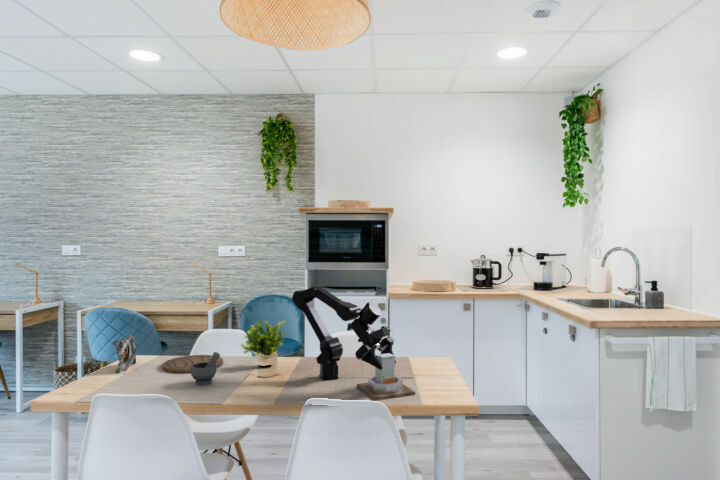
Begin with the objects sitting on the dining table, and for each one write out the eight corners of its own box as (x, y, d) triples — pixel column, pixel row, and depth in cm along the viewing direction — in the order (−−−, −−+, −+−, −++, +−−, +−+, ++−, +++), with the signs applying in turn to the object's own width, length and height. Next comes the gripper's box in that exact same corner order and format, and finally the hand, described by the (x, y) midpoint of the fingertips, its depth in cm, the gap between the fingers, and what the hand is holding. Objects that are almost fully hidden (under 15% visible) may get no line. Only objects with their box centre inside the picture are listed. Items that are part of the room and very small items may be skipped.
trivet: (215, 356, 217) (215, 352, 217) (229, 369, 195) (229, 364, 195) (158, 363, 204) (158, 359, 204) (167, 377, 182) (167, 372, 182)
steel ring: (377, 394, 159) (377, 386, 159) (364, 385, 170) (364, 377, 170) (407, 390, 164) (407, 382, 164) (392, 381, 174) (392, 373, 174)
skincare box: (381, 390, 163) (381, 357, 163) (374, 387, 167) (375, 354, 167) (395, 387, 166) (395, 355, 167) (388, 384, 170) (388, 352, 170)
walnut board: (374, 400, 156) (374, 397, 156) (356, 386, 171) (356, 384, 171) (415, 394, 162) (415, 391, 162) (394, 381, 177) (394, 379, 177)
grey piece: (126, 364, 201) (126, 334, 201) (136, 364, 201) (136, 334, 201) (111, 374, 186) (112, 342, 186) (122, 373, 186) (123, 341, 187)
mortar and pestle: (185, 386, 170) (185, 354, 170) (197, 379, 179) (197, 348, 179) (214, 387, 169) (214, 355, 169) (224, 380, 178) (224, 349, 178)
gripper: (362, 322, 162) (388, 358, 155) (390, 315, 177) (414, 348, 170) (344, 341, 166) (369, 377, 160) (373, 333, 181) (396, 365, 175)
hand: (388, 366), depth 166 cm, fingers open, 9 cm apart
